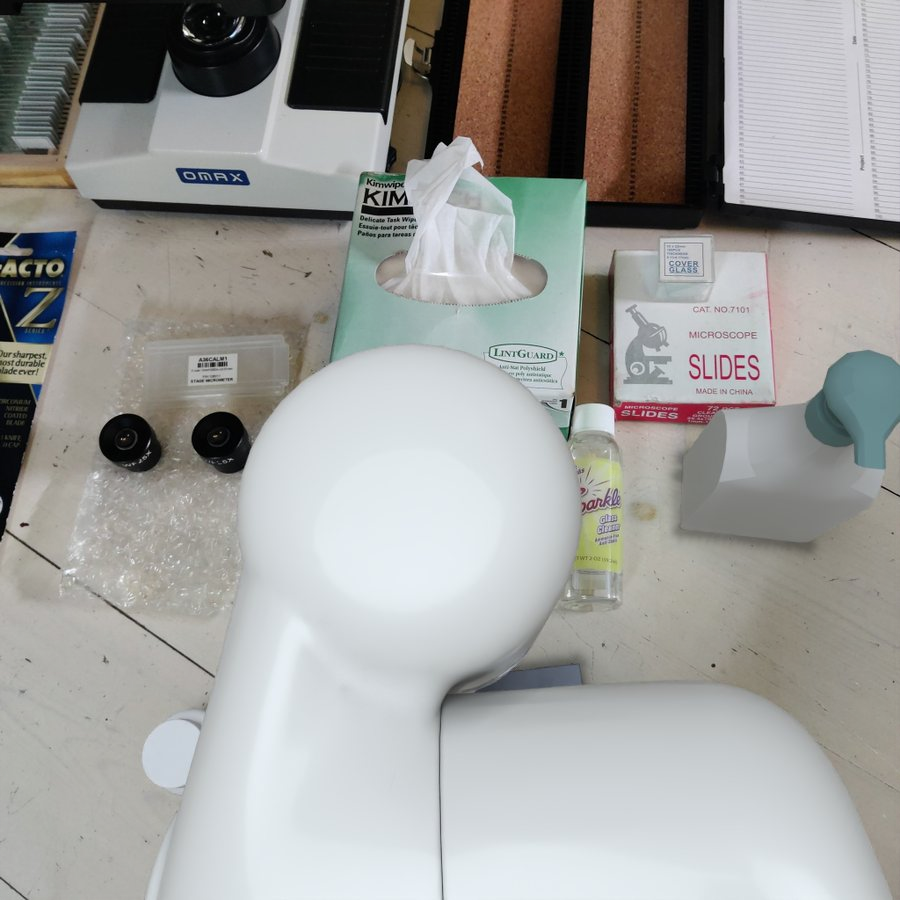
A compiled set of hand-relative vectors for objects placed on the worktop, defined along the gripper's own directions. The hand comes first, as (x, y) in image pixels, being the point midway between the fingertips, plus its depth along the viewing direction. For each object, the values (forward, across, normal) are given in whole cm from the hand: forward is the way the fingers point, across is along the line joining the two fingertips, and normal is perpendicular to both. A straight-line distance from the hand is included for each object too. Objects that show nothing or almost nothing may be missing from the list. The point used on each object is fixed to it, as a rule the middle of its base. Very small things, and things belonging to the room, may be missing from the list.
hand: (460, 627), depth 44 cm
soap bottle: (+27, +25, -11) cm, 38 cm away
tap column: (+26, -2, -7) cm, 27 cm away
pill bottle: (+27, -19, +12) cm, 35 cm away
